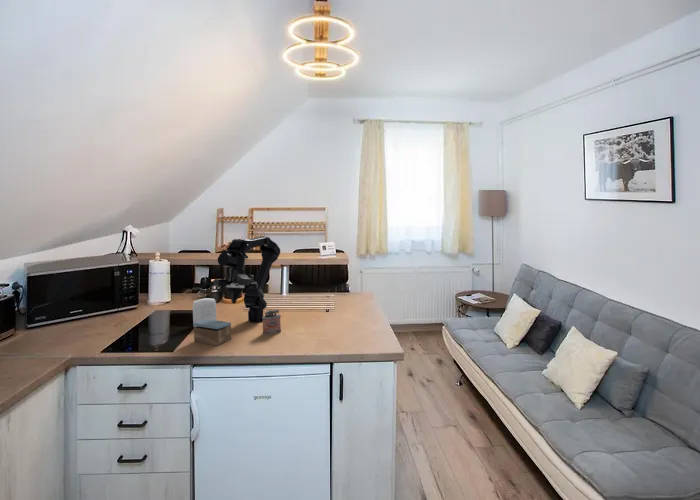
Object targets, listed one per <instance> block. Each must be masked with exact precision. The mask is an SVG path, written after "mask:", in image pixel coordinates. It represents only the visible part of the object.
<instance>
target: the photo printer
mask: <svg viewBox="0 0 700 500" xmlns="http://www.w3.org/2000/svg"><path fill="white" fill-rule="evenodd" d="M216 303H217V302H216V299H214V298H212V297H211V298H209V297H207V298H206V297H204V298H200V299H197V300H194V301H193V303H192V321H193V323H195V322H199V321H202V320H206V319H210V320H217V304H216ZM193 323H192V324H193ZM194 327H196V326H193V328H194Z"/></svg>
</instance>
